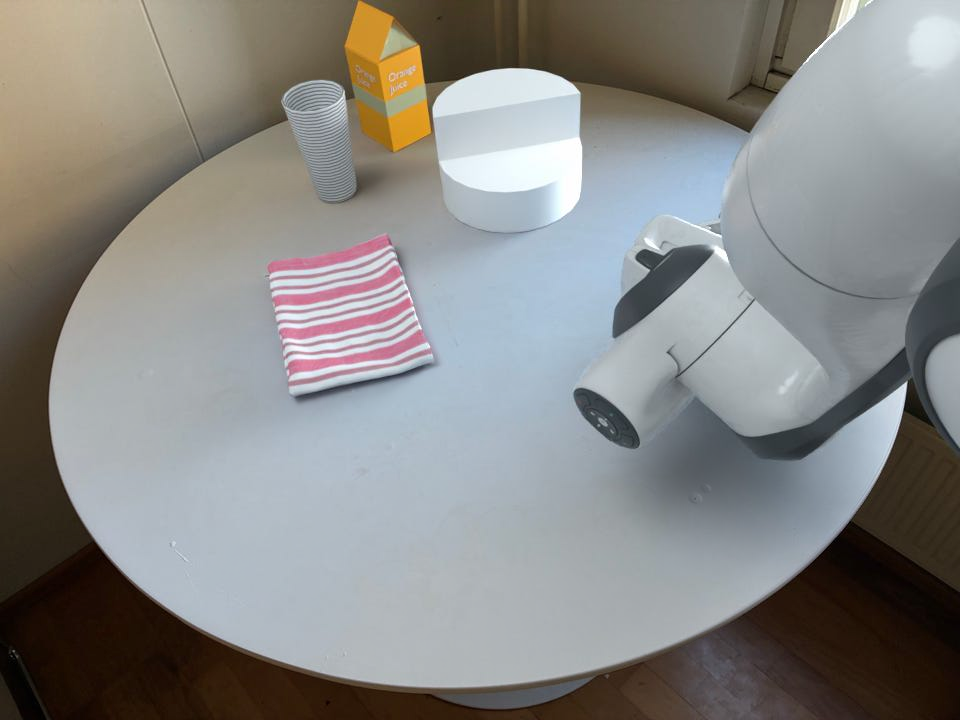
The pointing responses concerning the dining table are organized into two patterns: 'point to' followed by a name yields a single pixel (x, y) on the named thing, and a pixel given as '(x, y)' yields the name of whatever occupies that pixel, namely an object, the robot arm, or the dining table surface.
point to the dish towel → (345, 317)
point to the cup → (323, 136)
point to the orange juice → (387, 79)
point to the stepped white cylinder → (509, 149)
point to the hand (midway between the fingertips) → (770, 235)
